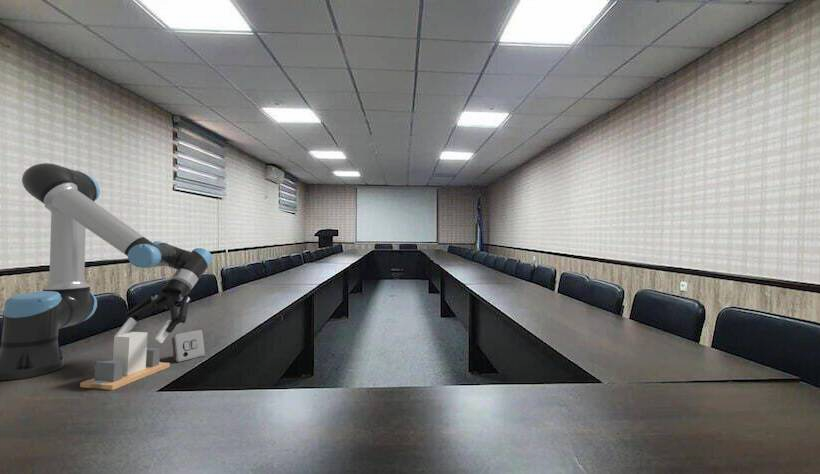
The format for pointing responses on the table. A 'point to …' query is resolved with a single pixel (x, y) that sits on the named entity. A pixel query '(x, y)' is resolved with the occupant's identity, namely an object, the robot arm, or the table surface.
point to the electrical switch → (188, 345)
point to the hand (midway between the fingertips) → (138, 339)
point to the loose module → (131, 351)
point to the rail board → (128, 378)
